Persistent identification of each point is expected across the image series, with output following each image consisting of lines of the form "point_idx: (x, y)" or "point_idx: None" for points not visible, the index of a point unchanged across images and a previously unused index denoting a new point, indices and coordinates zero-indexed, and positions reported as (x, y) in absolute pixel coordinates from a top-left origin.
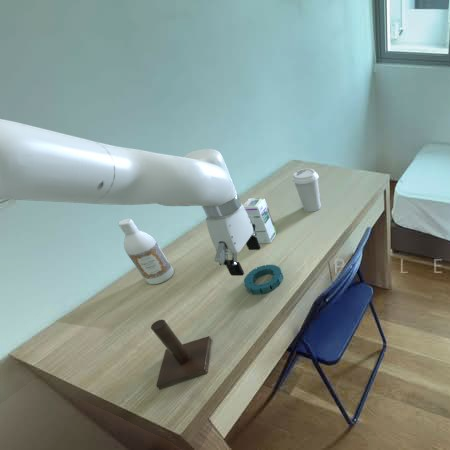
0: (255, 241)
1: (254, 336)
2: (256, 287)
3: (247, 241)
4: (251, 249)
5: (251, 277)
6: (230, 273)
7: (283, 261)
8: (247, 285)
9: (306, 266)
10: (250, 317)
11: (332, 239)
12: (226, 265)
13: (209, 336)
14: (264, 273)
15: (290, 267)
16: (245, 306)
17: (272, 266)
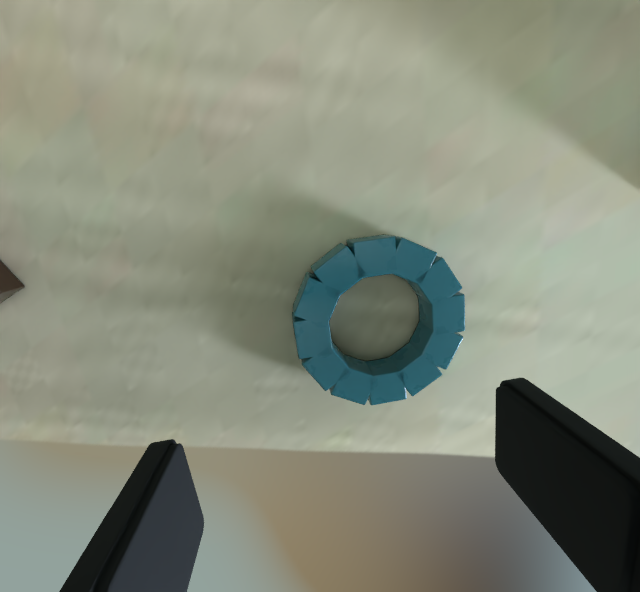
0: (578, 564)
1: (102, 434)
2: (308, 338)
3: (586, 485)
4: (499, 411)
5: (369, 274)
6: (144, 459)
7: (501, 327)
8: (314, 287)
9: (471, 434)
10: (176, 370)
11: None
12: (77, 572)
13: (3, 292)
14: (417, 294)
15: (463, 376)
16: (223, 316)
17: (452, 333)
